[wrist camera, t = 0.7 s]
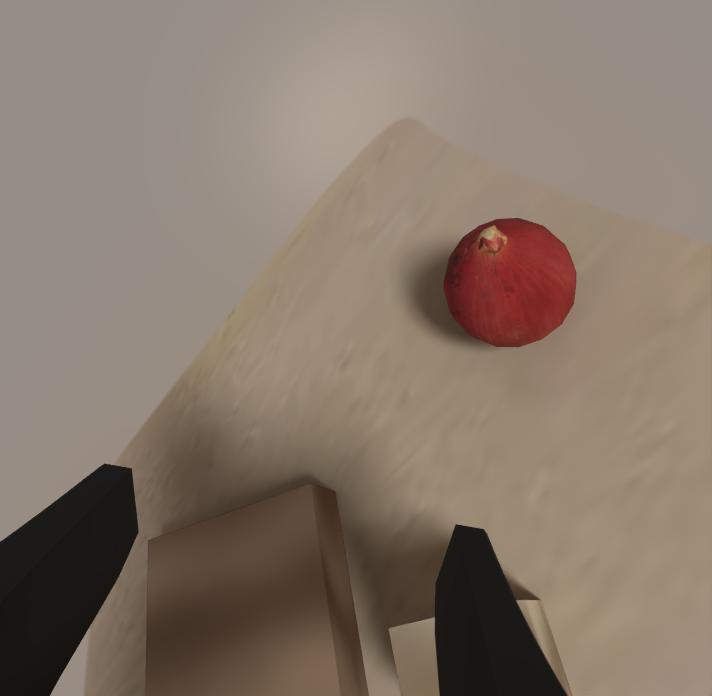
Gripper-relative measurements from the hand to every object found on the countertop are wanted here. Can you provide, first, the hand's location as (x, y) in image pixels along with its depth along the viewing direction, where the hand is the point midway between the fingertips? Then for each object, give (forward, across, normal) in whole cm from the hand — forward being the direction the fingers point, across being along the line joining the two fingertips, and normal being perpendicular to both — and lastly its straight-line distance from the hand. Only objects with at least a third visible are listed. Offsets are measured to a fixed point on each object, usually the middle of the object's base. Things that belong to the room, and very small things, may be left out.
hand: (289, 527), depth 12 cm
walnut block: (+8, +2, +18) cm, 20 cm away
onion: (+18, -9, +2) cm, 20 cm away
